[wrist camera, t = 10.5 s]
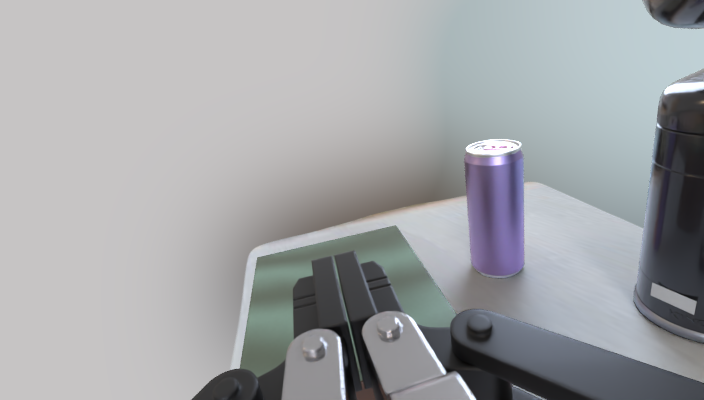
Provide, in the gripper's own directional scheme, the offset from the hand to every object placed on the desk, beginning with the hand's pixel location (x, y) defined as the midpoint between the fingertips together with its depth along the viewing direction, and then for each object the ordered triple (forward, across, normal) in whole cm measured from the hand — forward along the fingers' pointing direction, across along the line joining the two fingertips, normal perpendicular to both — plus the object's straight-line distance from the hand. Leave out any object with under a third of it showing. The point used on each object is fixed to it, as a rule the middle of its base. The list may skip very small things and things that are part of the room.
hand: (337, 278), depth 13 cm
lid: (+13, 0, +10) cm, 17 cm away
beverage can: (+26, -19, +20) cm, 38 cm away
